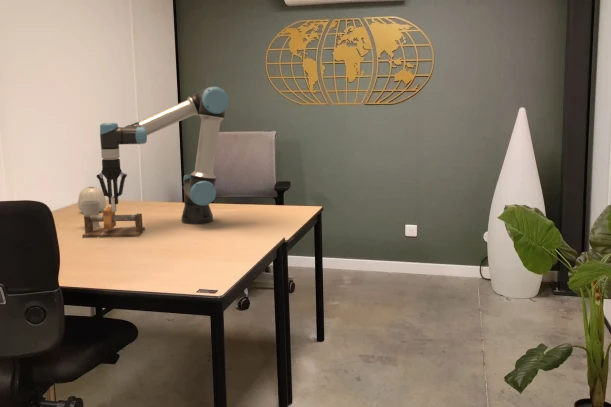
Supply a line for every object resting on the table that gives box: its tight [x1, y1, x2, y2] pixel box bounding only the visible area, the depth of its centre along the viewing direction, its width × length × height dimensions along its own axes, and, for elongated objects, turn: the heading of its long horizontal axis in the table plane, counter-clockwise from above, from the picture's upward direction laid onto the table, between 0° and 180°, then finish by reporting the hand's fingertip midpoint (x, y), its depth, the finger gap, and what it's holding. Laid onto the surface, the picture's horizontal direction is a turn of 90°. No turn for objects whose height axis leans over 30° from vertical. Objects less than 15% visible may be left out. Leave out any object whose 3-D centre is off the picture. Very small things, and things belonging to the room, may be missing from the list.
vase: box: [77, 186, 107, 213], centre depth 319 cm, size 14×14×13 cm
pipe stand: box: [82, 213, 146, 239], centre depth 270 cm, size 24×14×8 cm, turn 93°
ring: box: [102, 206, 117, 230], centre depth 269 cm, size 3×8×8 cm, turn 3°
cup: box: [81, 200, 100, 228], centre depth 284 cm, size 8×8×12 cm
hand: (114, 211), depth 269 cm, fingers closed
